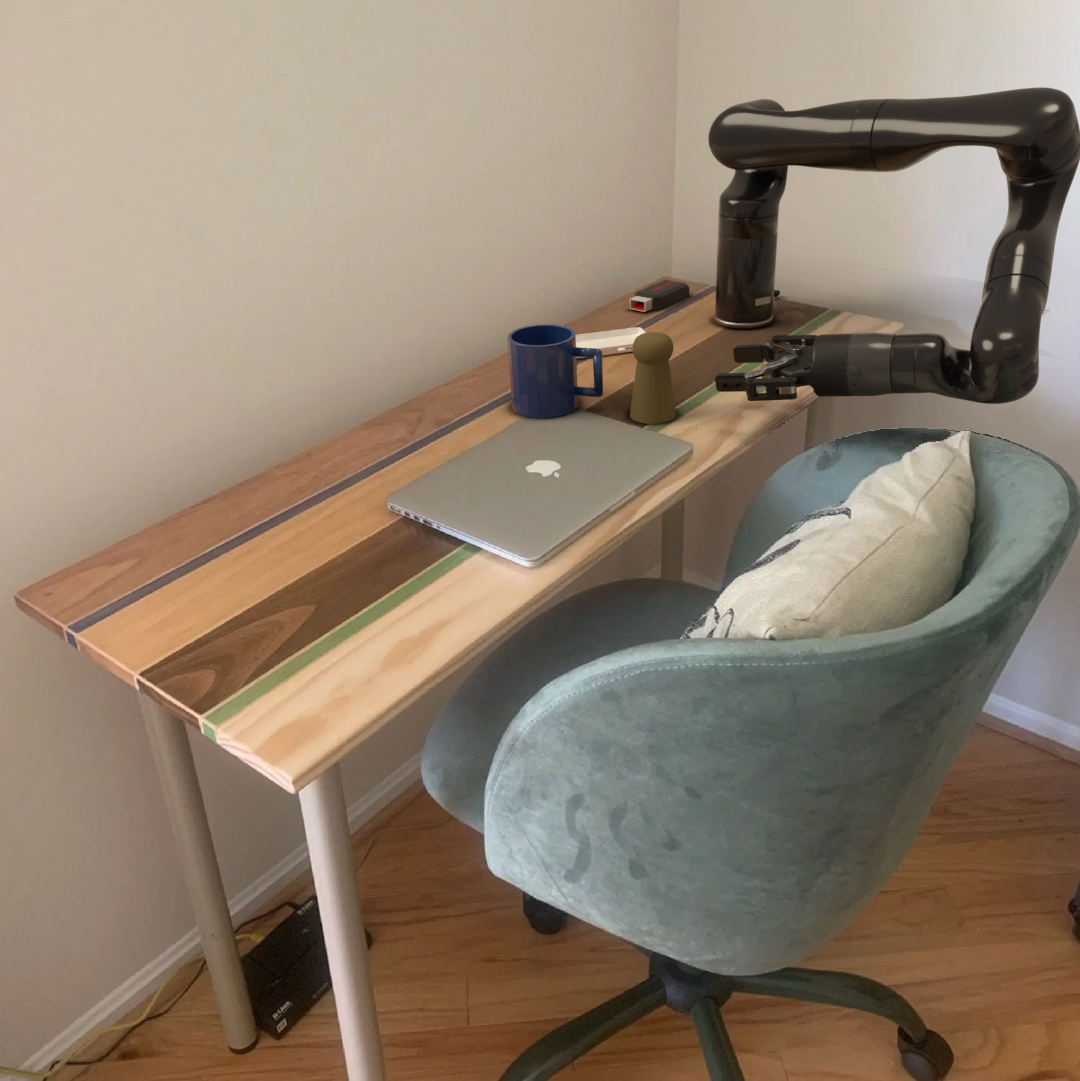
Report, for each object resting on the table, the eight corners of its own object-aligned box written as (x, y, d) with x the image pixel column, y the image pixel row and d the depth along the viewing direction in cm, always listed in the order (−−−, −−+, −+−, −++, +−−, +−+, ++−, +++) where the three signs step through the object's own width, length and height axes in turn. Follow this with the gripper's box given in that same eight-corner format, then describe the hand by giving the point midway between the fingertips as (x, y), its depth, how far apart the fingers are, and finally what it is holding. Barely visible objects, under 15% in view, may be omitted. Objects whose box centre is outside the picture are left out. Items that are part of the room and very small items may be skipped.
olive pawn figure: (675, 405, 140) (676, 326, 134) (676, 423, 134) (677, 342, 129) (630, 406, 140) (629, 327, 135) (629, 424, 135) (628, 343, 130)
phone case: (640, 334, 166) (549, 346, 163) (640, 326, 165) (549, 337, 162) (655, 349, 160) (561, 361, 157) (655, 340, 159) (560, 352, 156)
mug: (502, 415, 140) (497, 343, 135) (525, 390, 147) (521, 322, 142) (593, 423, 136) (591, 350, 131) (612, 397, 143) (611, 327, 138)
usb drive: (689, 296, 182) (690, 280, 181) (649, 314, 174) (649, 298, 173) (665, 291, 185) (665, 276, 184) (625, 309, 178) (624, 293, 176)
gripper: (846, 419, 122) (713, 419, 129) (867, 368, 132) (743, 371, 140) (842, 360, 118) (705, 364, 125) (864, 312, 128) (737, 318, 136)
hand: (725, 368), depth 132 cm, fingers open, 8 cm apart
